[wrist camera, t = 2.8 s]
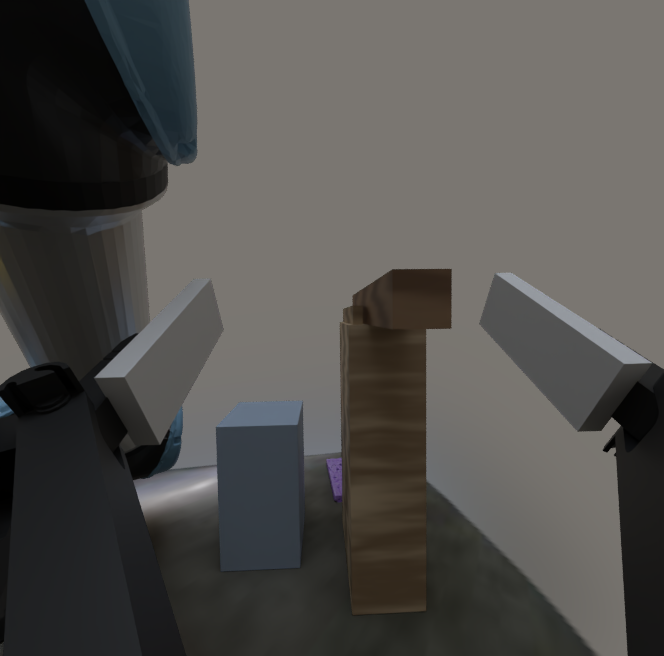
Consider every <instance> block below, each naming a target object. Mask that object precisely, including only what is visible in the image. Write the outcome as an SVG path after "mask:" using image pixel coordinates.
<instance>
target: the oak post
mask: <svg viewBox="0 0 664 656" xmlns="http://www.w3.org/2000/svg"><path fill="white" fill-rule="evenodd" d="M340 371H341V441H342V444H341V446H342V520H343V530H344V540H345V549H346V559H347V569H348V578H349V588H350V597H351V607H352V615H365V614H383V613H401V612H420V611H426V329H388V328H382V327H377V326H372V325H366V324H363V306H350V307H347V308H344V309H343V322H340Z"/></svg>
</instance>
